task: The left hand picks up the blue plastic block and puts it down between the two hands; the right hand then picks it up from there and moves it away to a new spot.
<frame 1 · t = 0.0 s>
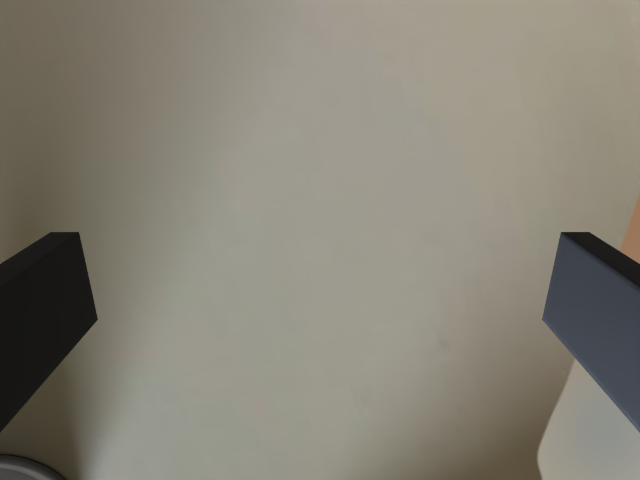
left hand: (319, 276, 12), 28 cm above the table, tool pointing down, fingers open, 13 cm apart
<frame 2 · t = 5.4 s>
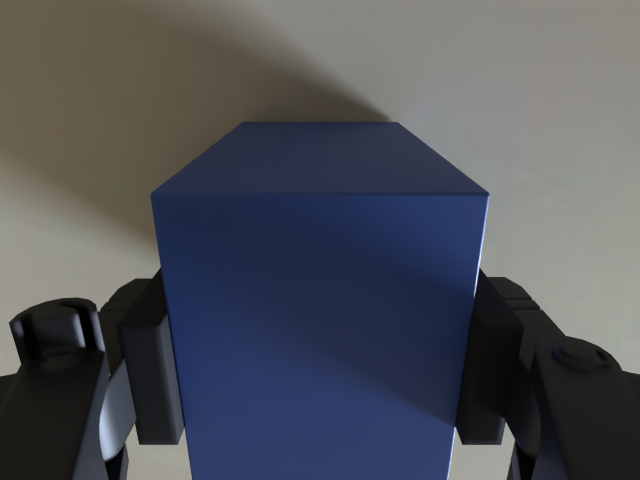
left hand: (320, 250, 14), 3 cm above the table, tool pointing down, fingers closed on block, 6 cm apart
block: (320, 218, 17), on the table, touching left hand
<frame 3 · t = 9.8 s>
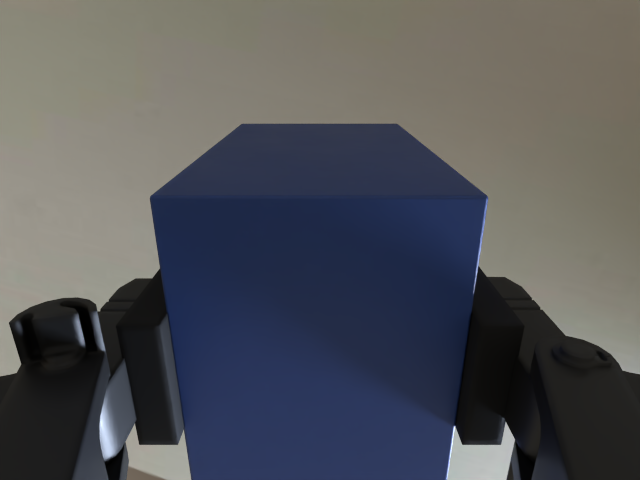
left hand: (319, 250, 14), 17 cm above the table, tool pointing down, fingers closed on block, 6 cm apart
block: (319, 219, 17), point 14 cm above the table, touching left hand
when the left hand's fingers open (4 cm above the table, at t = 14.5 s): block drops 1 cm, on the table.
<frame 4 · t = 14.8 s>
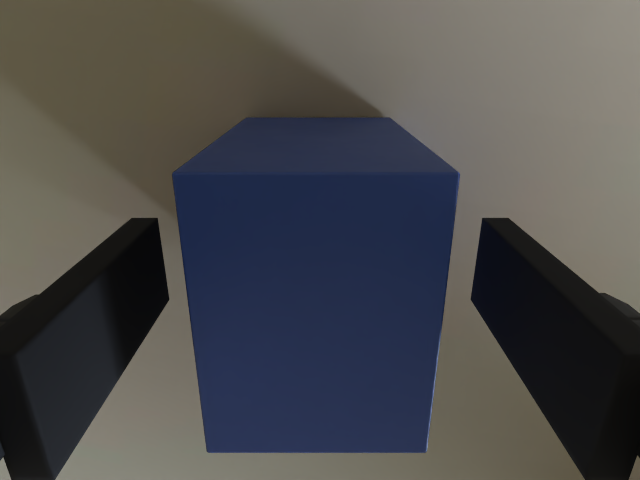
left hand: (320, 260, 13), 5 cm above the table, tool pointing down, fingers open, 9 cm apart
block: (318, 207, 18), on the table
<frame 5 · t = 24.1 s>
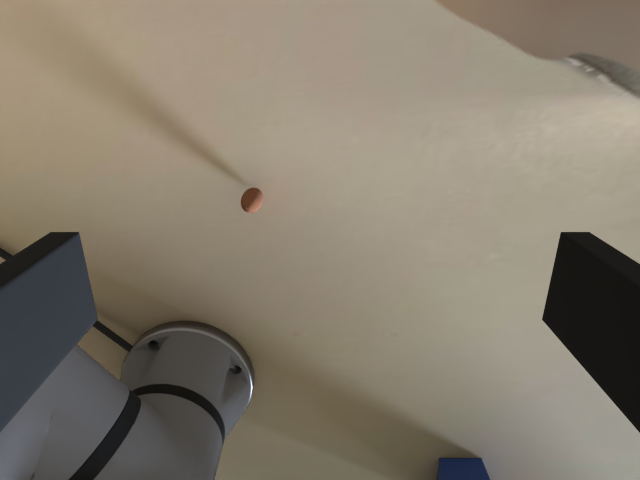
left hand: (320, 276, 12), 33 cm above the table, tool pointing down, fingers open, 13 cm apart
block: (457, 477, 60), on the table, touching right hand
brown ellipsoid: (255, 192, 45), on the table
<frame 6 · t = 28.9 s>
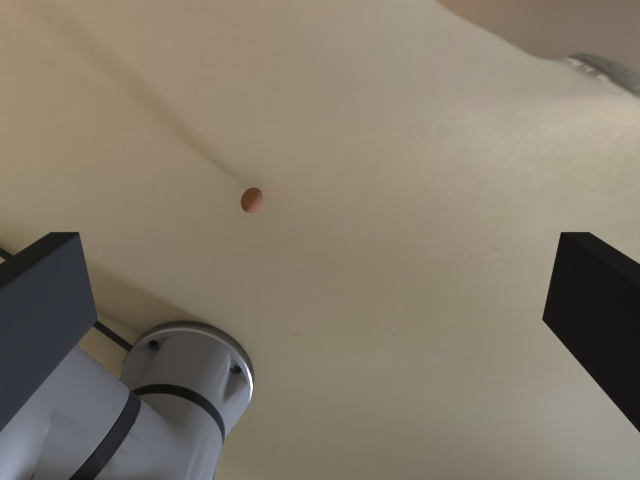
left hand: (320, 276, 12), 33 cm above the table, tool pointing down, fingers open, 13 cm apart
brown ellipsoid: (255, 192, 45), on the table
when the right hand's fingers open (4 cm above the table, at t = 33.7 s): block drops 1 cm, on the table.
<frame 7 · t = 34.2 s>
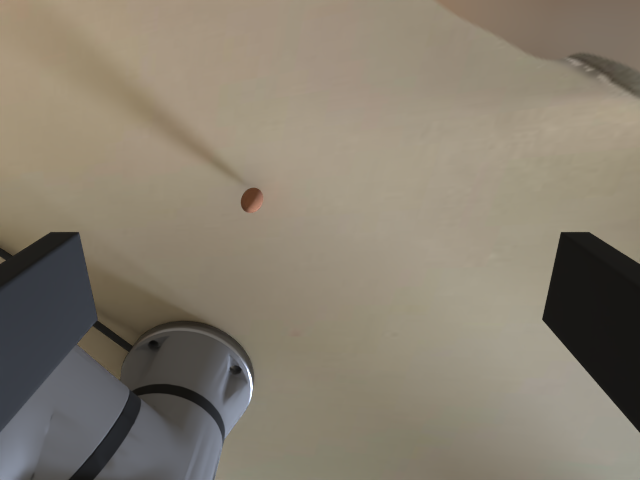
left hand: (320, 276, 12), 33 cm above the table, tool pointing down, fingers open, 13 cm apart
brown ellipsoid: (255, 192, 45), on the table
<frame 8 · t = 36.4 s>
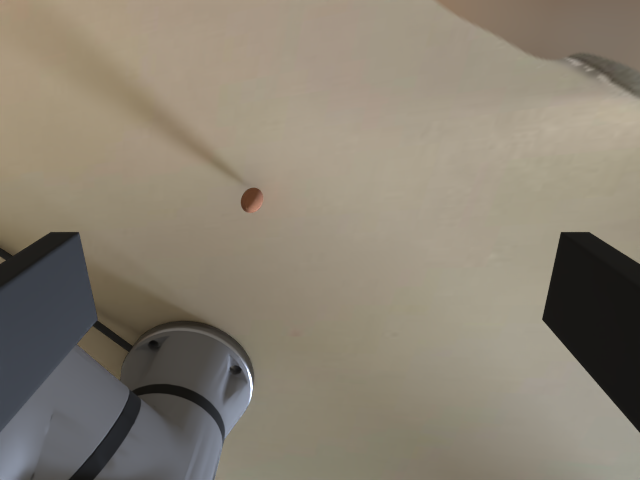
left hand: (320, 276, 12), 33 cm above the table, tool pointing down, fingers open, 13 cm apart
brown ellipsoid: (255, 192, 45), on the table
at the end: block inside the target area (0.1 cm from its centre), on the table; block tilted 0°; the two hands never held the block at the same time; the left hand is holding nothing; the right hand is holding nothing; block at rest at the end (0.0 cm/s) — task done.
